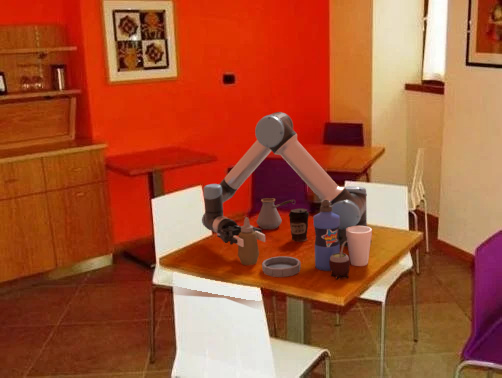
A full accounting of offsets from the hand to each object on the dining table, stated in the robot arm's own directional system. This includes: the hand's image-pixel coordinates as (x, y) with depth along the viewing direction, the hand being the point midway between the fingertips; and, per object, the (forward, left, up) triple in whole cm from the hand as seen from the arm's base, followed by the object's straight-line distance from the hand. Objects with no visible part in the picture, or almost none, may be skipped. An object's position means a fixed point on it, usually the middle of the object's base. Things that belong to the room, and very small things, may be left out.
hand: (253, 240), depth 224 cm
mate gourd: (-33, +7, -10) cm, 35 cm away
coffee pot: (+2, -48, -10) cm, 49 cm away
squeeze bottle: (+3, -3, -10) cm, 11 cm away
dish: (-11, +3, -10) cm, 15 cm away
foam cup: (-38, -8, -10) cm, 40 cm away
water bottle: (-27, -3, -10) cm, 29 cm away
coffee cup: (-11, -33, -10) cm, 36 cm away
